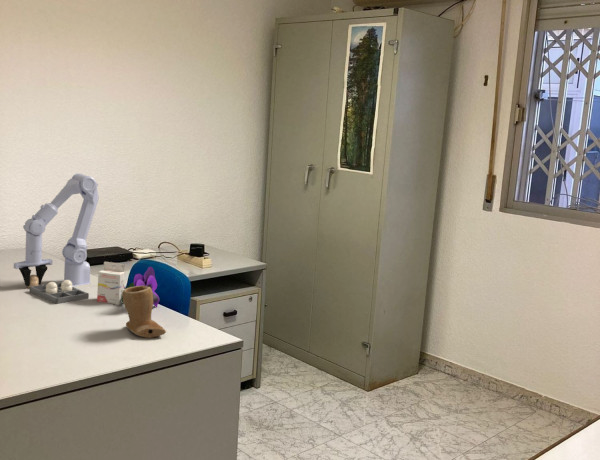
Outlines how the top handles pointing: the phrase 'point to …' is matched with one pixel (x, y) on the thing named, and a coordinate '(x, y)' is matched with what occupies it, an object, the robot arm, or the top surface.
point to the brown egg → (33, 281)
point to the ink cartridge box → (111, 283)
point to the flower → (146, 283)
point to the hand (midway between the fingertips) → (32, 285)
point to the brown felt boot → (141, 312)
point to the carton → (59, 294)
